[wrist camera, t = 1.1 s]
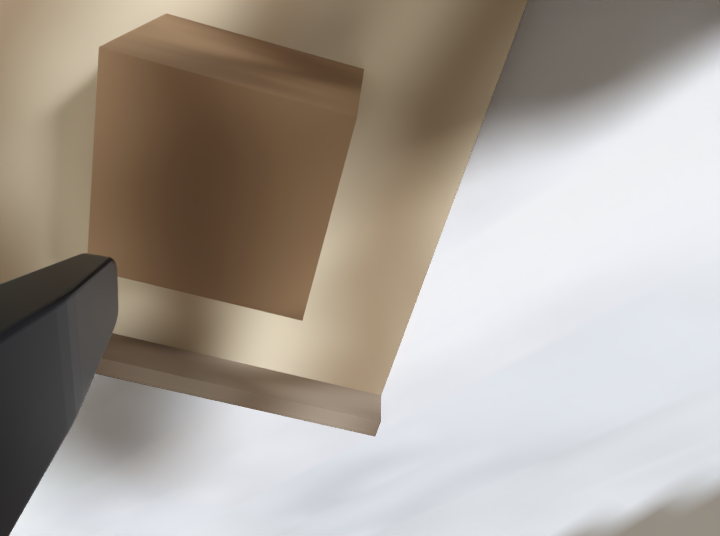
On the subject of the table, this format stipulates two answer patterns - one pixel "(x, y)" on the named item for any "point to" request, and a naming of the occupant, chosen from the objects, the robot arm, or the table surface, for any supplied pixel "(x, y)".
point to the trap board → (348, 217)
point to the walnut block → (218, 162)
